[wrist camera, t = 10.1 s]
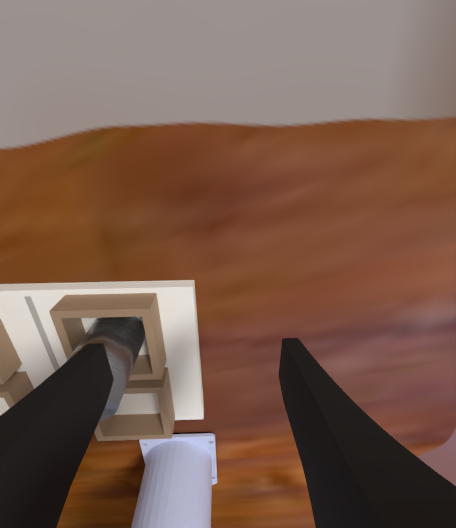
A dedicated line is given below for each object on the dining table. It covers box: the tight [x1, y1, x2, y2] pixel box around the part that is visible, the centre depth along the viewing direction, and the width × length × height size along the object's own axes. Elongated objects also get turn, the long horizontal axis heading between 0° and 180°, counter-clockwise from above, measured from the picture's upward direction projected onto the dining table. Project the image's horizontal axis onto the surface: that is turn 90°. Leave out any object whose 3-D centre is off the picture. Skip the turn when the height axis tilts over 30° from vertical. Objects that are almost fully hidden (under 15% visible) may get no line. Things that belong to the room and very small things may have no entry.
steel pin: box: [66, 317, 146, 421], centre depth 18 cm, size 4×4×6 cm
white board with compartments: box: [0, 280, 204, 441], centre depth 19 cm, size 15×24×7 cm, turn 91°
